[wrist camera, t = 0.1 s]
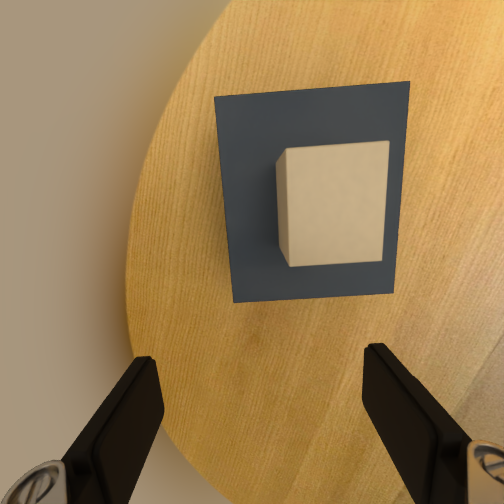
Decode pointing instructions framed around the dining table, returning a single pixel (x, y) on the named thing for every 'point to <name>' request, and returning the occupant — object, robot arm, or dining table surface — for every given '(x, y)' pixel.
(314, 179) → the small box
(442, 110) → the dining table surface
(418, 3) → the dining table surface
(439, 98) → the dining table surface
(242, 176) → the storage box
